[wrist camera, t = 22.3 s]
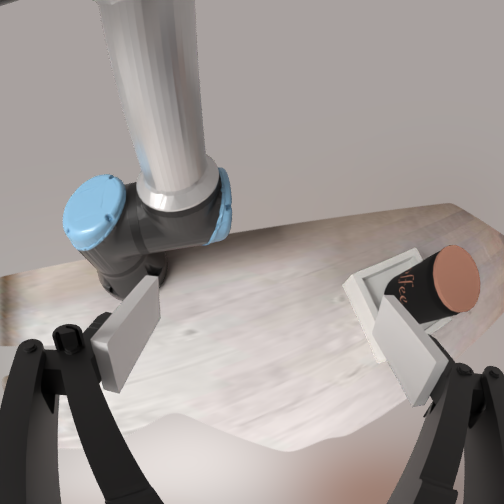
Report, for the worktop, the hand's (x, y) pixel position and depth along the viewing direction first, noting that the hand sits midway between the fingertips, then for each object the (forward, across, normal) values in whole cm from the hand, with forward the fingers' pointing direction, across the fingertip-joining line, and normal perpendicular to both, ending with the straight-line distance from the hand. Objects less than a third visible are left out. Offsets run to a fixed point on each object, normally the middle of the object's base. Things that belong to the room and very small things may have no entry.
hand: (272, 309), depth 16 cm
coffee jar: (+33, +30, -15) cm, 47 cm away
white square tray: (+36, +30, -18) cm, 50 cm away
